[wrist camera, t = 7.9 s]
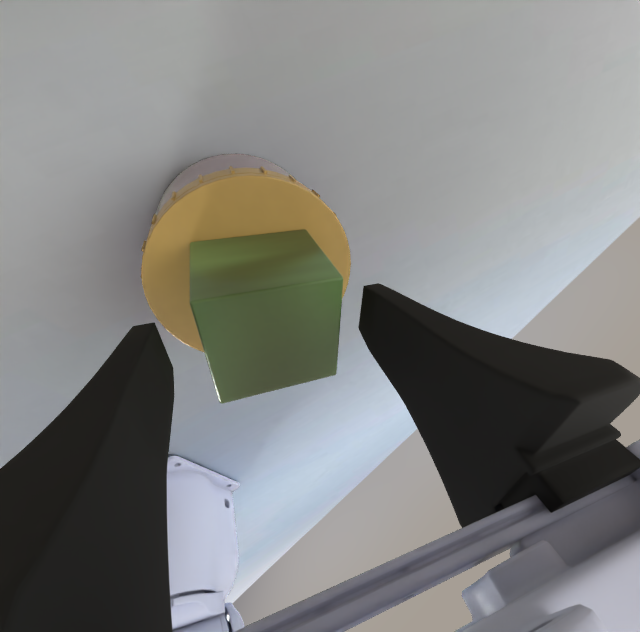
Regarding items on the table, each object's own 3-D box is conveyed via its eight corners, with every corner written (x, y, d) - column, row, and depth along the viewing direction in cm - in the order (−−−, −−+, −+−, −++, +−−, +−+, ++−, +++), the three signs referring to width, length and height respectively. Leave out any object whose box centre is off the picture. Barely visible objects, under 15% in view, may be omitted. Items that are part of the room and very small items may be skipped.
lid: (364, 285, 16) (375, 298, 16) (230, 367, 17) (233, 384, 16) (288, 117, 11) (298, 120, 10) (86, 246, 11) (77, 261, 10)
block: (306, 228, 12) (344, 276, 9) (307, 315, 15) (336, 375, 12) (189, 241, 11) (188, 302, 8) (213, 333, 14) (219, 405, 11)
